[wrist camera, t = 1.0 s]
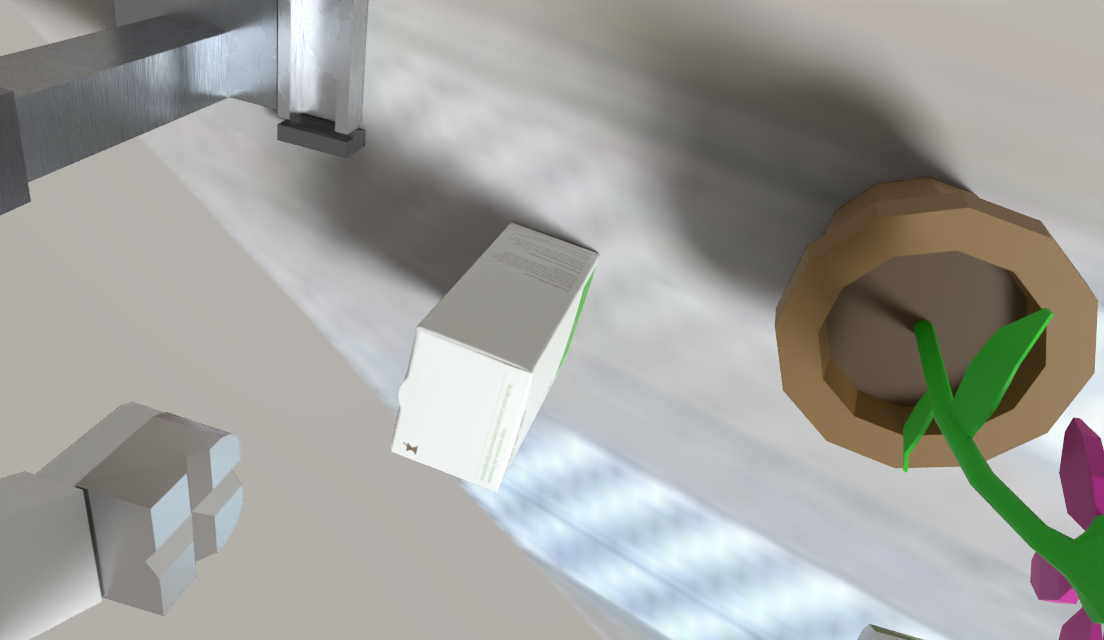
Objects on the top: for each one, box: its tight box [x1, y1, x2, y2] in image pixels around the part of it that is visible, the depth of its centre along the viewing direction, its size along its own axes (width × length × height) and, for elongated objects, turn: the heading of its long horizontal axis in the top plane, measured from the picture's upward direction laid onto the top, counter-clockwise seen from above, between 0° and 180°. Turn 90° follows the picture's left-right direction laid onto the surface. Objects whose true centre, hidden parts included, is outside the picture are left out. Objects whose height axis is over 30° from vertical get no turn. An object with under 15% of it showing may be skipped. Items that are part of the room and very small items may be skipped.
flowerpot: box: [775, 177, 1104, 640], centre depth 37 cm, size 14×14×30 cm
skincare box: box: [391, 222, 600, 492], centre depth 50 cm, size 8×7×16 cm
